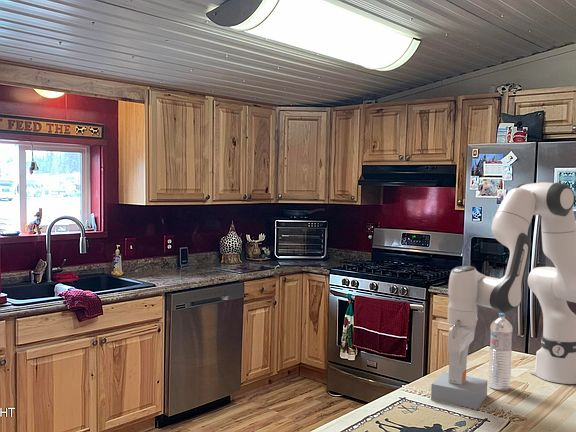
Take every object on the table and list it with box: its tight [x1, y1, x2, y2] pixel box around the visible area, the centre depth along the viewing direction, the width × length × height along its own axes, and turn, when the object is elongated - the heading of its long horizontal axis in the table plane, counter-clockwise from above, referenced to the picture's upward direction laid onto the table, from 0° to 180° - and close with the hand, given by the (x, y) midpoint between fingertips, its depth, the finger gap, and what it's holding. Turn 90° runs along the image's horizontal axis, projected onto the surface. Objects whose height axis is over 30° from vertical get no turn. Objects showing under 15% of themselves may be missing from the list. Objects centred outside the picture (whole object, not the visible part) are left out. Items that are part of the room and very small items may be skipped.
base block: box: [430, 371, 488, 410], centre depth 172 cm, size 14×14×5 cm
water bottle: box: [488, 312, 513, 392], centre depth 182 cm, size 7×7×25 cm
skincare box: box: [448, 347, 468, 385], centre depth 172 cm, size 6×4×12 cm
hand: (460, 361), depth 172 cm, fingers open, 8 cm apart
